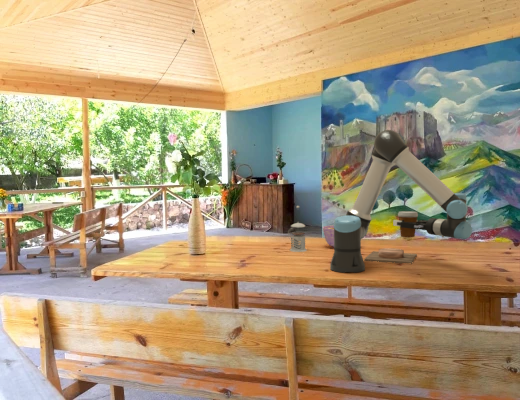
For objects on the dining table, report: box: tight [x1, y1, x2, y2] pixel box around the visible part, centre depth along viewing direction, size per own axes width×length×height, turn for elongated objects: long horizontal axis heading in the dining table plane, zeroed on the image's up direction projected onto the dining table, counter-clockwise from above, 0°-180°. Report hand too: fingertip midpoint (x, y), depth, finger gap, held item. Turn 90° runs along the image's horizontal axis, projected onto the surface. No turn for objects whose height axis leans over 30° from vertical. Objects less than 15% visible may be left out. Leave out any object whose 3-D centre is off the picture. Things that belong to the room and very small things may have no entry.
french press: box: [287, 205, 308, 253], centre depth 249 cm, size 10×12×25 cm
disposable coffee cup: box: [397, 210, 419, 238], centre depth 218 cm, size 10×10×12 cm
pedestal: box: [363, 247, 418, 265], centre depth 223 cm, size 22×22×4 cm
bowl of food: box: [322, 224, 334, 249], centre depth 257 cm, size 20×20×12 cm
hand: (400, 222), depth 222 cm, fingers closed on disposable coffee cup, 8 cm apart
